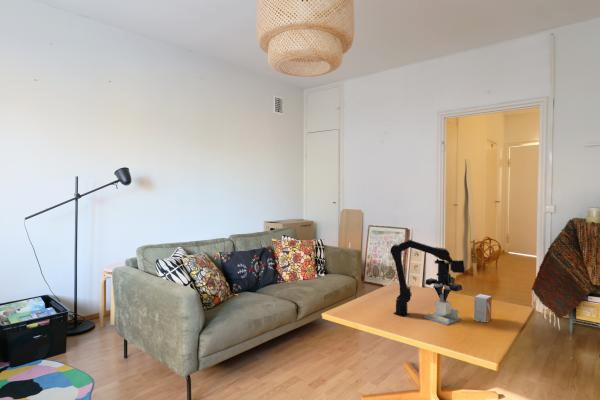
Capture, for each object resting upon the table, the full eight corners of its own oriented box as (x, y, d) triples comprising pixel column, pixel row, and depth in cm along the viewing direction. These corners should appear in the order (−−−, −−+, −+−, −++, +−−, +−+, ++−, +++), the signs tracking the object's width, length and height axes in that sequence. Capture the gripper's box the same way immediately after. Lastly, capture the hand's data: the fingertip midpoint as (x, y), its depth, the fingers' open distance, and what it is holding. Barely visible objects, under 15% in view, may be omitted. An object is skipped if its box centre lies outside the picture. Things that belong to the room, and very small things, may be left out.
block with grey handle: (445, 314, 191) (445, 296, 190) (435, 311, 195) (435, 293, 195) (450, 313, 194) (450, 294, 193) (440, 310, 198) (440, 292, 198)
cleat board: (447, 325, 184) (447, 314, 184) (423, 317, 196) (423, 308, 195) (461, 319, 193) (461, 309, 193) (438, 312, 204) (438, 303, 204)
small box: (486, 323, 188) (486, 299, 187) (473, 320, 192) (474, 296, 192) (491, 319, 193) (491, 296, 193) (479, 316, 198) (479, 293, 198)
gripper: (467, 273, 191) (467, 301, 192) (436, 267, 206) (436, 293, 207) (456, 275, 185) (456, 305, 185) (425, 269, 200) (424, 297, 200)
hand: (443, 300), depth 194 cm, fingers closed on block with grey handle
